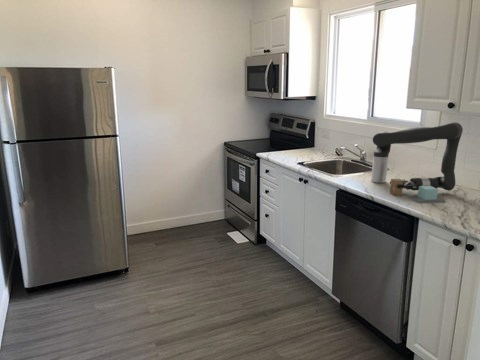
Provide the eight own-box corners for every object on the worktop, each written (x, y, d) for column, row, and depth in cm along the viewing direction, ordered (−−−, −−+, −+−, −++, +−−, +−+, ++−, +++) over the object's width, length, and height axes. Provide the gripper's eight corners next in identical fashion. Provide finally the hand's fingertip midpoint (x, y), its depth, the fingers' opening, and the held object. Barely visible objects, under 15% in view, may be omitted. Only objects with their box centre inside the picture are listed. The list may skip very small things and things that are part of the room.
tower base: (409, 198, 223) (410, 185, 221) (435, 197, 225) (437, 185, 223) (417, 202, 214) (419, 190, 213) (444, 201, 216) (446, 189, 214)
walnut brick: (389, 193, 232) (391, 178, 230) (397, 193, 233) (399, 178, 231) (393, 195, 228) (395, 180, 225) (401, 195, 228) (403, 180, 226)
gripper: (414, 175, 236) (388, 175, 235) (427, 180, 222) (400, 181, 221) (412, 187, 238) (387, 187, 236) (425, 193, 224) (398, 194, 223)
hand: (393, 184), depth 229 cm, fingers open, 8 cm apart
